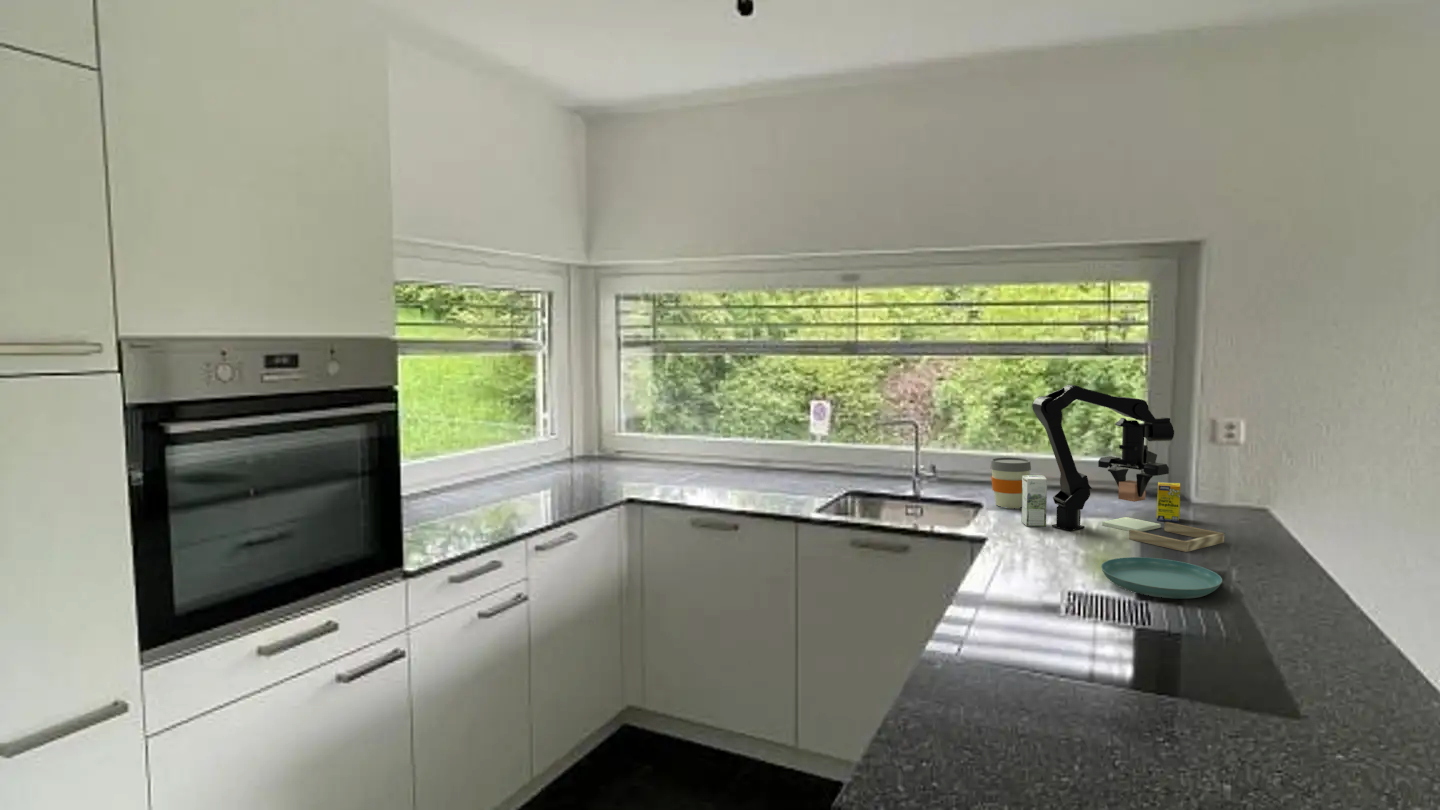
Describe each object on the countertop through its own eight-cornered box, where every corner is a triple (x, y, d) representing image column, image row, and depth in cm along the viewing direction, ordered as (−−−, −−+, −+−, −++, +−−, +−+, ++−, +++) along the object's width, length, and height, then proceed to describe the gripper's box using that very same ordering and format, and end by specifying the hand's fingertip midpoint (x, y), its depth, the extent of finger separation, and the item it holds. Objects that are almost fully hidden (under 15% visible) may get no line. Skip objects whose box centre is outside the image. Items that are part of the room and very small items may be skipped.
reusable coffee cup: (1033, 510, 265) (1034, 463, 264) (992, 509, 268) (992, 463, 267) (1027, 502, 278) (1027, 457, 276) (987, 501, 280) (988, 457, 279)
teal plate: (1156, 608, 174) (1156, 593, 173) (1077, 576, 197) (1078, 562, 196) (1248, 596, 180) (1249, 581, 180) (1162, 566, 203) (1162, 553, 203)
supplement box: (1156, 521, 248) (1157, 484, 247) (1156, 517, 253) (1157, 481, 252) (1179, 523, 245) (1180, 486, 244) (1179, 518, 250) (1180, 482, 249)
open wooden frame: (1185, 552, 214) (1186, 542, 214) (1128, 539, 228) (1129, 530, 228) (1223, 542, 222) (1224, 533, 222) (1166, 530, 236) (1166, 521, 236)
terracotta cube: (1134, 501, 238) (1134, 484, 237) (1118, 498, 242) (1118, 481, 242) (1145, 499, 240) (1145, 482, 240) (1129, 496, 245) (1129, 480, 244)
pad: (1136, 532, 234) (1137, 529, 234) (1102, 525, 244) (1102, 521, 244) (1160, 527, 240) (1160, 524, 240) (1125, 520, 249) (1125, 516, 249)
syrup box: (1040, 522, 249) (1041, 474, 248) (1046, 527, 243) (1047, 478, 242) (1021, 522, 250) (1021, 474, 248) (1026, 527, 244) (1027, 478, 242)
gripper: (1181, 443, 235) (1179, 497, 237) (1121, 436, 252) (1120, 487, 253) (1157, 446, 230) (1155, 501, 231) (1097, 439, 246) (1096, 491, 248)
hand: (1131, 495), depth 241 cm, fingers closed on terracotta cube, 5 cm apart
